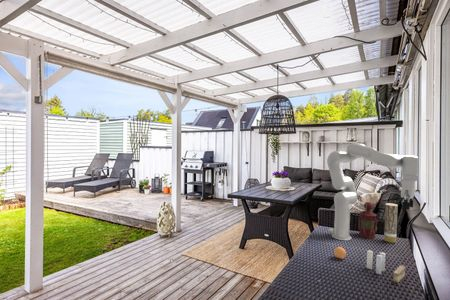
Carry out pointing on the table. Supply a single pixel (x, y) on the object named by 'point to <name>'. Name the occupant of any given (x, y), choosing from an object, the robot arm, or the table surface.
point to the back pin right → (379, 264)
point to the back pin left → (383, 261)
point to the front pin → (369, 259)
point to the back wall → (399, 274)
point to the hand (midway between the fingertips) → (407, 208)
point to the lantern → (367, 221)
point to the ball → (340, 252)
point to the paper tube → (390, 222)
